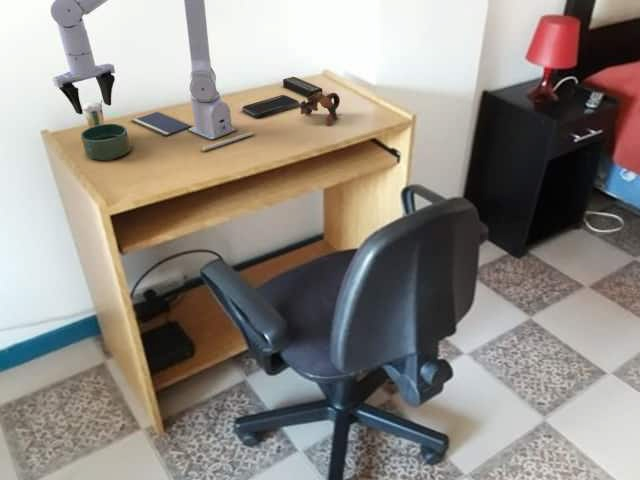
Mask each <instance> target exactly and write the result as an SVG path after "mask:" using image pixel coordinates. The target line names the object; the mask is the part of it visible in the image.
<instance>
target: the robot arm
mask: <svg viewBox="0 0 640 480" xmlns="http://www.w3.org/2000/svg"><path fill="white" fill-rule="evenodd" d="M108 1H109V0H54V1H53V2H52V4H51V6H50V15H51V17H52V19H53V21H55V23H56V24H57V27H58V31H59V36H60V39H61V43H62V47H63V50H64V54H65V57H66V60H67V64H68V68H69V71H67V72H65V73H63V74H60V75H57V76H54V77H52V81H53V85H54V87H56V88H58V89H59V90H60V91H61V92H62V94H63V95H64V96H65V97H66V98H67V100H68V101H69V103H70V104H71V106H72V107H73V109H74V111H75V113H76V114H78V115H83V114H84V111H83V109H82V108H83V106H82V105H81V100H80V95H79V88H78V87H76V86H75V85H74V84H75V83H78V82H82V81H87V80H89V79H93V78H95V79H96V81H97V84H98V86H99V89H100V94H101V97H102V102H103V103H104V105H107V106H112V95H113V87H114V84H115V81H116V78H115V75H113V74H115V73H116V69H115V66H114V64H112V63H110V62H109V63H104V64H98V65H96V62H95V59H94V54H93V50H92V47H91V43H90V38H89V36H88V31H87V29H86V26H85V22H84V18H83V16H88V15H89V14H91V13H92V12H93V11H95V10H96V9H98V8H99V7H100V6H102V5H104V4H105V3H107V2H108ZM183 1H184V11H185V21H186V28H187V29H186V30H187V36H188V46H189V54H190V65H191V72H190V83H189V92H190V102H191V107H192V108H191V109H192V114H193V119H194V125H195V126H191V127H190V128H188V130H189V132H192V133H195V134H197V135H199V136H202V137H204V138H206V139H208V140H215V139H218V138H220V137H223V136H226V135H228V134H231V133H232V132H236V129H235V128H234V127H233V122H232V117H231V109H230V106H229V105H228V104H227V103H226V102H224V101H223V100H222V98H221V95H220V91H219V90H217V84H216V81H217V75H216V72H215V71H214V69H213V67H212V62H211V56H210V55H211V53H210V46H209V45H210V44H209V35H208V34H209V33H208V26H207V25H208V24H207V13H206V2H205V0H183Z"/></svg>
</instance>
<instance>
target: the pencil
mask: <svg viewBox="0 0 640 480" xmlns="http://www.w3.org/2000/svg"><path fill="white" fill-rule="evenodd" d="M253 134H254V132H252V131H250V132H246V133H244V134H241V135H240V134H239V135H237V136H235V137H231V138H229V139H225V140H223V141H219V142H217V143H213V144H210V145H207V146H204V147H202V152H206V151H209V150H211V149H214V148H218V147H220V146H221V147H222V146H224V145H226V144H230V143H232V142H235V141H239V140H241V139H245V138H248V137H251V136H253Z"/></svg>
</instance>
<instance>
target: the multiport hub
mask: <svg viewBox="0 0 640 480" xmlns="http://www.w3.org/2000/svg"><path fill="white" fill-rule="evenodd" d="M282 85H283V88H285V89H287V90H289V91H292V92H294V93H296V94H298V95H300V96H303V97H305V98H307V99H308V98H309V97H311V96H312V95H314V94H316V93H318V92H322V93H323V88H322V87H320V86H317V85H315V84H313V83H310V82H308V81H306V80H303V79H300V78H298V77H296V76H291V77H287V78H283V79H282Z"/></svg>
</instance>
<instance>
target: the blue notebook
mask: <svg viewBox="0 0 640 480" xmlns="http://www.w3.org/2000/svg"><path fill="white" fill-rule="evenodd" d="M131 122H132V123H134V124H137V125H138V126H141V127H143V128H146V129H148V130H150V131H152V132H155V133H157V134H158V135H162V136H164V137H169V136H171V135H173V134H176V133H179V132H181V131H184V130H187V129H189V128H192V125H190V124H188V123H185V122H182V121H180V120H178V119H175V118H173V117H171V116H168V115H166V114H163V113H160V112H159V111H156V112H153V113H150V114H146V115H144V116H141V117H137V118H133V119H132V120H131Z"/></svg>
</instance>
